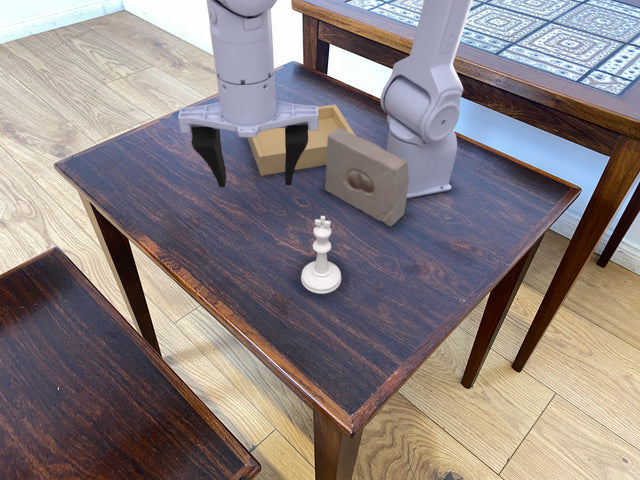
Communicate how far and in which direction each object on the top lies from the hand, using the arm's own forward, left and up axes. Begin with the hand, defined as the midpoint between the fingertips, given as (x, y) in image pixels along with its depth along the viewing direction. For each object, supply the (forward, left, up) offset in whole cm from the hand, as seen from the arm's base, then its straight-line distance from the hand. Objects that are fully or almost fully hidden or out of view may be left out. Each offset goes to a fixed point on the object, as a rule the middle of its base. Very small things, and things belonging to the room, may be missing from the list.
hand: (255, 181), depth 59 cm
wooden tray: (-11, -19, -10) cm, 24 cm away
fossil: (-16, -3, -10) cm, 19 cm away
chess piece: (-6, +9, -10) cm, 14 cm away
